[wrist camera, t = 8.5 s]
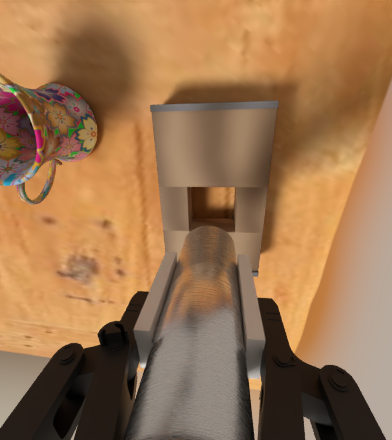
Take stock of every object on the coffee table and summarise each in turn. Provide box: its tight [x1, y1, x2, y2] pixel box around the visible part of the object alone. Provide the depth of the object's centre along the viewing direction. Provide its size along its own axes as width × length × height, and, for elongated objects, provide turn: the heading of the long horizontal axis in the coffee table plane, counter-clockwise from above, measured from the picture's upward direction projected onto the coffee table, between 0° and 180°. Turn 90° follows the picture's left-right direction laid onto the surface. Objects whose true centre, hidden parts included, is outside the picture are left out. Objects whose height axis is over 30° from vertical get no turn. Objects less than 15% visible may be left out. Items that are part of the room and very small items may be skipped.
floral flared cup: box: [0, 74, 97, 204], centre depth 23 cm, size 12×9×11 cm
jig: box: [150, 101, 279, 277], centre depth 27 cm, size 12×20×4 cm, turn 1°
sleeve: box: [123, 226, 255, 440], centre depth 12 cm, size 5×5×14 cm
